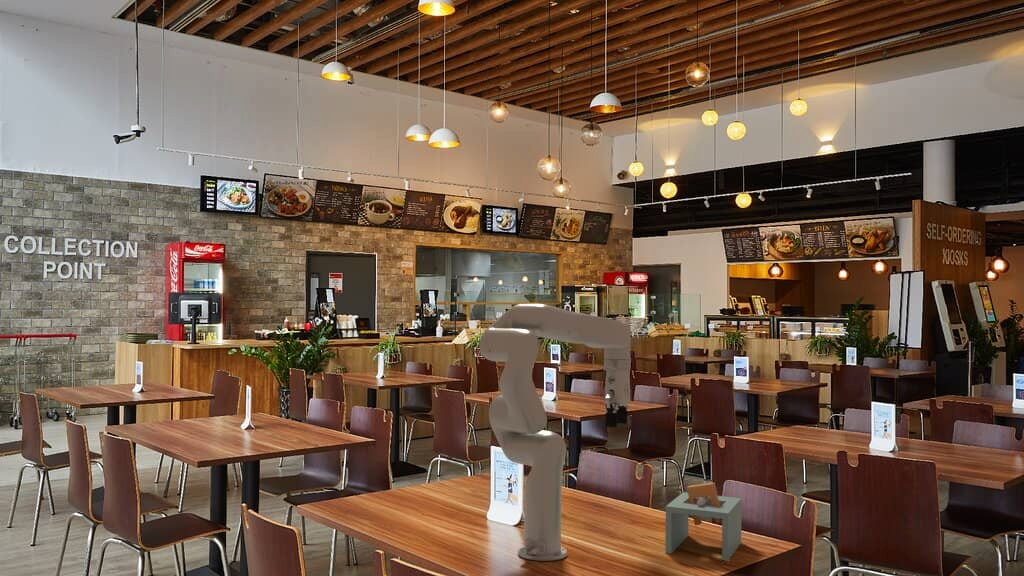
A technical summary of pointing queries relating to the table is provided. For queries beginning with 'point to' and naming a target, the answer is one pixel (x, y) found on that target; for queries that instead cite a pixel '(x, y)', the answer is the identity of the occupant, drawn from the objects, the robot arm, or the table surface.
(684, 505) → the shelf
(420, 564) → the table surface
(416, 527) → the table surface
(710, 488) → the wooden arch bridge
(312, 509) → the table surface
